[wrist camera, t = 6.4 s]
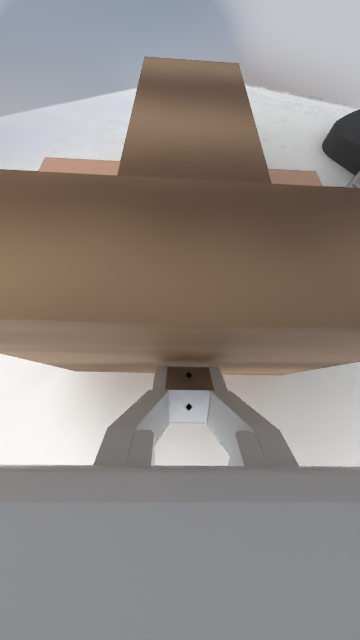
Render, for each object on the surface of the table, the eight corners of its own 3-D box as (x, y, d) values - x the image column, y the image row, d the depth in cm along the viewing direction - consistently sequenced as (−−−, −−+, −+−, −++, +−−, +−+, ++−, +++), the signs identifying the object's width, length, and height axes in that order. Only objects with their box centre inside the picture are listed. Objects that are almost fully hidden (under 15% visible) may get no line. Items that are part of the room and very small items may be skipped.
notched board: (295, 232, 19) (325, 193, 15) (62, 222, 18) (34, 179, 15) (289, 212, 20) (315, 171, 16) (69, 202, 19) (45, 157, 16)
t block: (281, 375, 13) (521, 333, 4) (75, 371, 13) (-164, 314, 4) (253, 226, 19) (329, 70, 10) (109, 220, 19) (47, 49, 9)
